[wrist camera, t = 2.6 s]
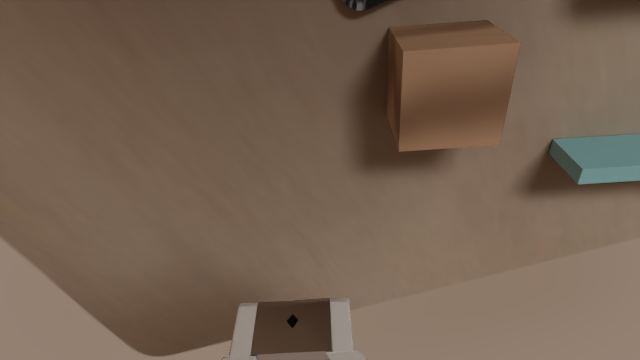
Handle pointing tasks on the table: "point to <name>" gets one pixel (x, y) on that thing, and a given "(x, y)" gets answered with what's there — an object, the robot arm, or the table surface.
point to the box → (599, 158)
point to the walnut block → (449, 84)
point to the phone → (362, 4)
